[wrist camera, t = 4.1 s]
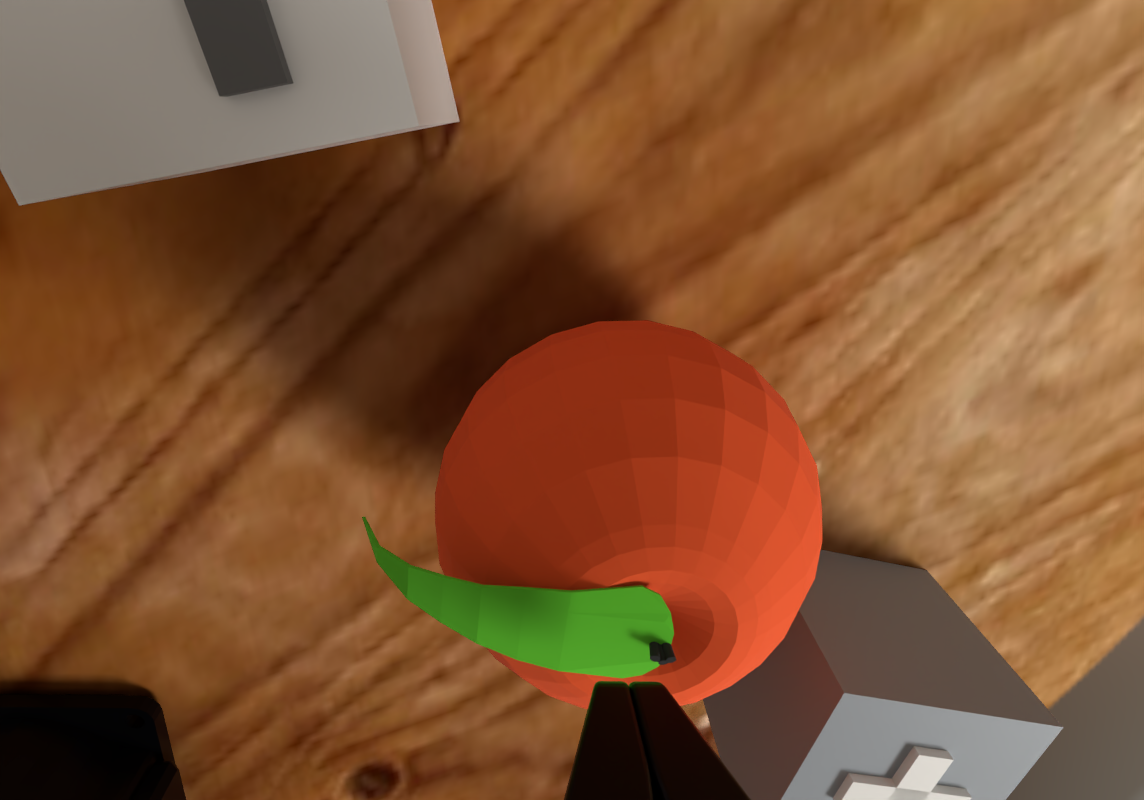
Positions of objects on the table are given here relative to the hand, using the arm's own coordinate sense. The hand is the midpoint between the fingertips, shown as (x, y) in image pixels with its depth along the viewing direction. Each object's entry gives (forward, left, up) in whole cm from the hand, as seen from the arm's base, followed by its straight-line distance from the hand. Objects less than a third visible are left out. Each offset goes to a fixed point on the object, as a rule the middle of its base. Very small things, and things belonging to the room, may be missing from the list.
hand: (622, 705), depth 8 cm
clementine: (0, 0, -8) cm, 8 cm away
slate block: (+7, -6, -8) cm, 12 cm away
